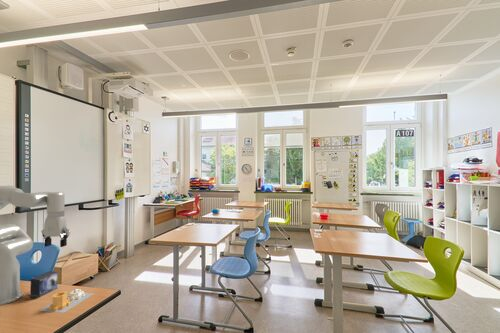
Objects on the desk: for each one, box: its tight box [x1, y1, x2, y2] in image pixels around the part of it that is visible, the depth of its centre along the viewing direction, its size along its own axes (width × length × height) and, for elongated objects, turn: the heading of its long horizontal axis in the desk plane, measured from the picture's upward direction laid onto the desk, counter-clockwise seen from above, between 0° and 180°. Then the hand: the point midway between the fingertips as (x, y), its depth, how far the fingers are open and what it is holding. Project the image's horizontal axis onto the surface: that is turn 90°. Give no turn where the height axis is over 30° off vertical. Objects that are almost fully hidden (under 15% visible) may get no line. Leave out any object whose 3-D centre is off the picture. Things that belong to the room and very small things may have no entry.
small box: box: [29, 270, 59, 299], centre depth 134 cm, size 11×6×10 cm, turn 168°
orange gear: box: [49, 291, 70, 311], centre depth 118 cm, size 8×8×6 cm
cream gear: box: [67, 288, 85, 301], centre depth 127 cm, size 8×8×3 cm
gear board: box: [39, 288, 95, 314], centre depth 122 cm, size 14×18×5 cm
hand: (55, 246), depth 129 cm, fingers open, 9 cm apart
